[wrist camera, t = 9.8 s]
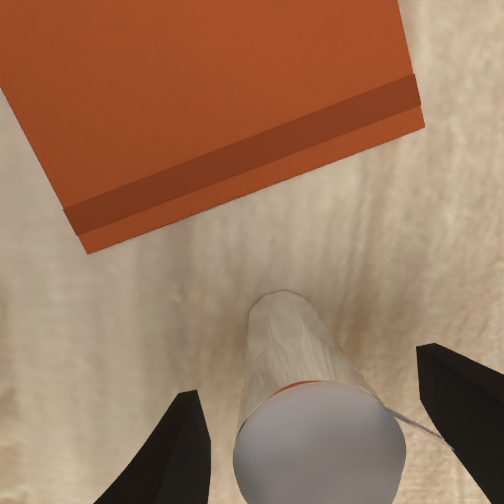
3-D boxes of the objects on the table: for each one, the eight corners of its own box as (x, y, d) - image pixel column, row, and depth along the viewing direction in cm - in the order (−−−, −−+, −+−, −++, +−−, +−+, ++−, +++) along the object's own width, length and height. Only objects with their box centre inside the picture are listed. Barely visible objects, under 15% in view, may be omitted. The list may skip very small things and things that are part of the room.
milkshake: (361, 306, 18) (515, 501, 8) (281, 381, 19) (335, 635, 9) (293, 243, 17) (378, 379, 7) (212, 325, 18) (189, 544, 8)
